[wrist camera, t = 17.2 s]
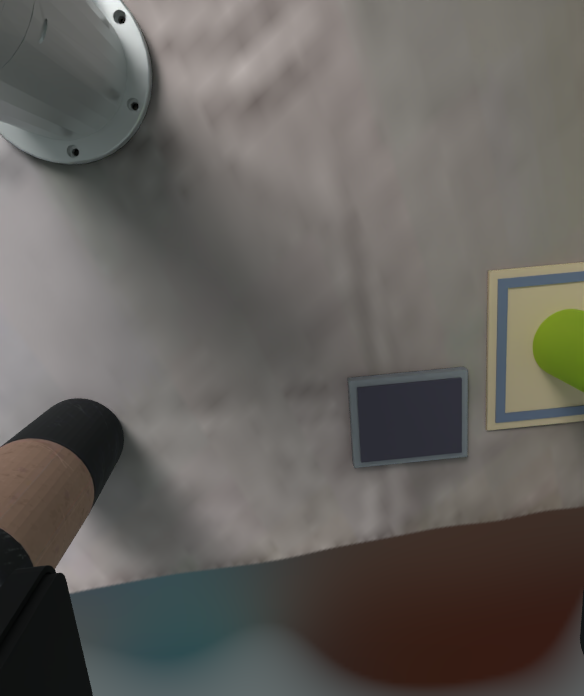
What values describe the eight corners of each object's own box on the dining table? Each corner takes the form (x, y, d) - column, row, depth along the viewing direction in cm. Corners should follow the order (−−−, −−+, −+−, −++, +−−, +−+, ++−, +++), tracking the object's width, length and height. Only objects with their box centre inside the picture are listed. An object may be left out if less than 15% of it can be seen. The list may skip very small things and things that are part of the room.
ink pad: (347, 377, 43) (349, 382, 42) (463, 366, 43) (468, 370, 42) (352, 463, 45) (354, 469, 44) (463, 452, 45) (468, 458, 44)
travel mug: (145, 447, 44) (50, 629, 24) (75, 492, 45) (-72, 704, 25) (89, 377, 42) (-63, 514, 23) (16, 426, 43) (-190, 598, 23)
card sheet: (487, 270, 41) (490, 271, 41) (655, 255, 42) (659, 255, 41) (485, 429, 45) (488, 431, 44) (640, 413, 45) (643, 415, 45)
